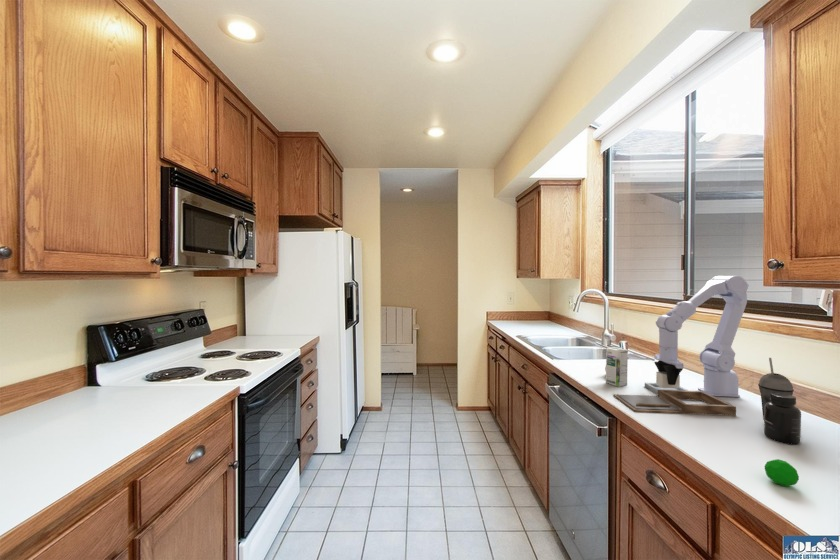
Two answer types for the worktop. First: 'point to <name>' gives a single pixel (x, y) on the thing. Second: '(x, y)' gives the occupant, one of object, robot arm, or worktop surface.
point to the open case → (677, 403)
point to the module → (665, 380)
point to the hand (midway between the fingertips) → (667, 382)
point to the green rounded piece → (781, 472)
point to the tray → (655, 387)
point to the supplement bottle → (782, 419)
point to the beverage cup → (773, 386)
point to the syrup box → (616, 366)
